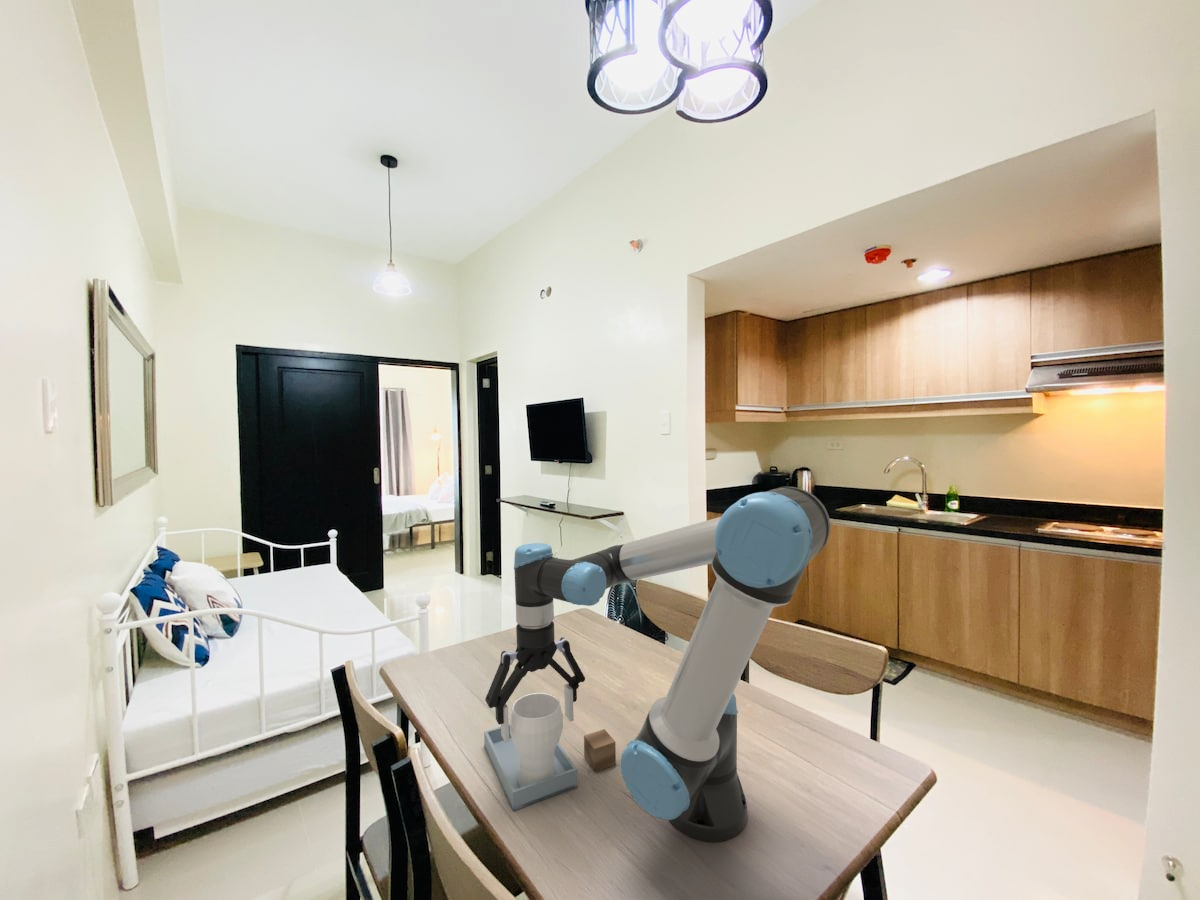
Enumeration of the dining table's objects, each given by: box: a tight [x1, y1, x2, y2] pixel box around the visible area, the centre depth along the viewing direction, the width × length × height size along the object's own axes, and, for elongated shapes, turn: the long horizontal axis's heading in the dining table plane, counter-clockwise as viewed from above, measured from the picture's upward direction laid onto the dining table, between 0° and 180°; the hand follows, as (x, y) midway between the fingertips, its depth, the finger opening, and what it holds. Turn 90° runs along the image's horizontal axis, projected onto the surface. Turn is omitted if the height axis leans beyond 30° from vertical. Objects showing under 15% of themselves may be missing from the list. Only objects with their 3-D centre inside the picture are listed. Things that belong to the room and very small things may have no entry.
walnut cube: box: [583, 728, 617, 773], centre depth 103 cm, size 5×5×5 cm
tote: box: [483, 723, 579, 812], centre depth 101 cm, size 21×13×4 cm, turn 28°
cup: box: [509, 692, 564, 787], centre depth 96 cm, size 11×11×15 cm
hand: (538, 727), depth 96 cm, fingers open, 13 cm apart
